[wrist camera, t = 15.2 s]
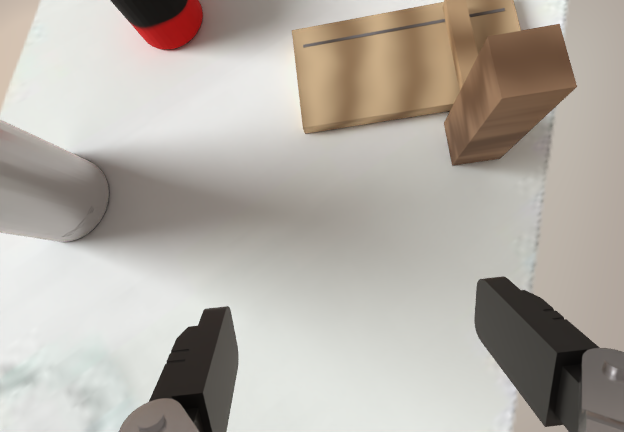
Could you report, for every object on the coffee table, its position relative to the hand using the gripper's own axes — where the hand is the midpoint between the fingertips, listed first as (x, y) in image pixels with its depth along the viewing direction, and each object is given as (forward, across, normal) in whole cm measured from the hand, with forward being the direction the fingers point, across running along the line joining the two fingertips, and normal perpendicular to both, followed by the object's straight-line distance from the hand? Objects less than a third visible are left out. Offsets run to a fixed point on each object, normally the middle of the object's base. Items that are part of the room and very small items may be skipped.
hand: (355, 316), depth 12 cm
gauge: (+28, -16, -5) cm, 33 cm away
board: (+30, -11, -8) cm, 33 cm away
